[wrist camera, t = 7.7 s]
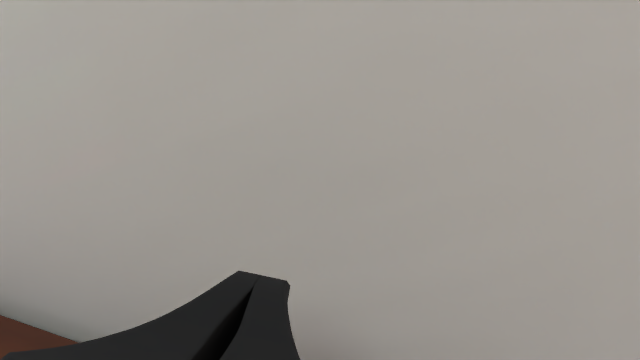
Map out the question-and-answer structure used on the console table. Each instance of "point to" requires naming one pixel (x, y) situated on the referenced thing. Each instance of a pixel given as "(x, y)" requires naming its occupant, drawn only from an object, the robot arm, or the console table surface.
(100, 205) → the console table surface
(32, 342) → the diary
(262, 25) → the console table surface
